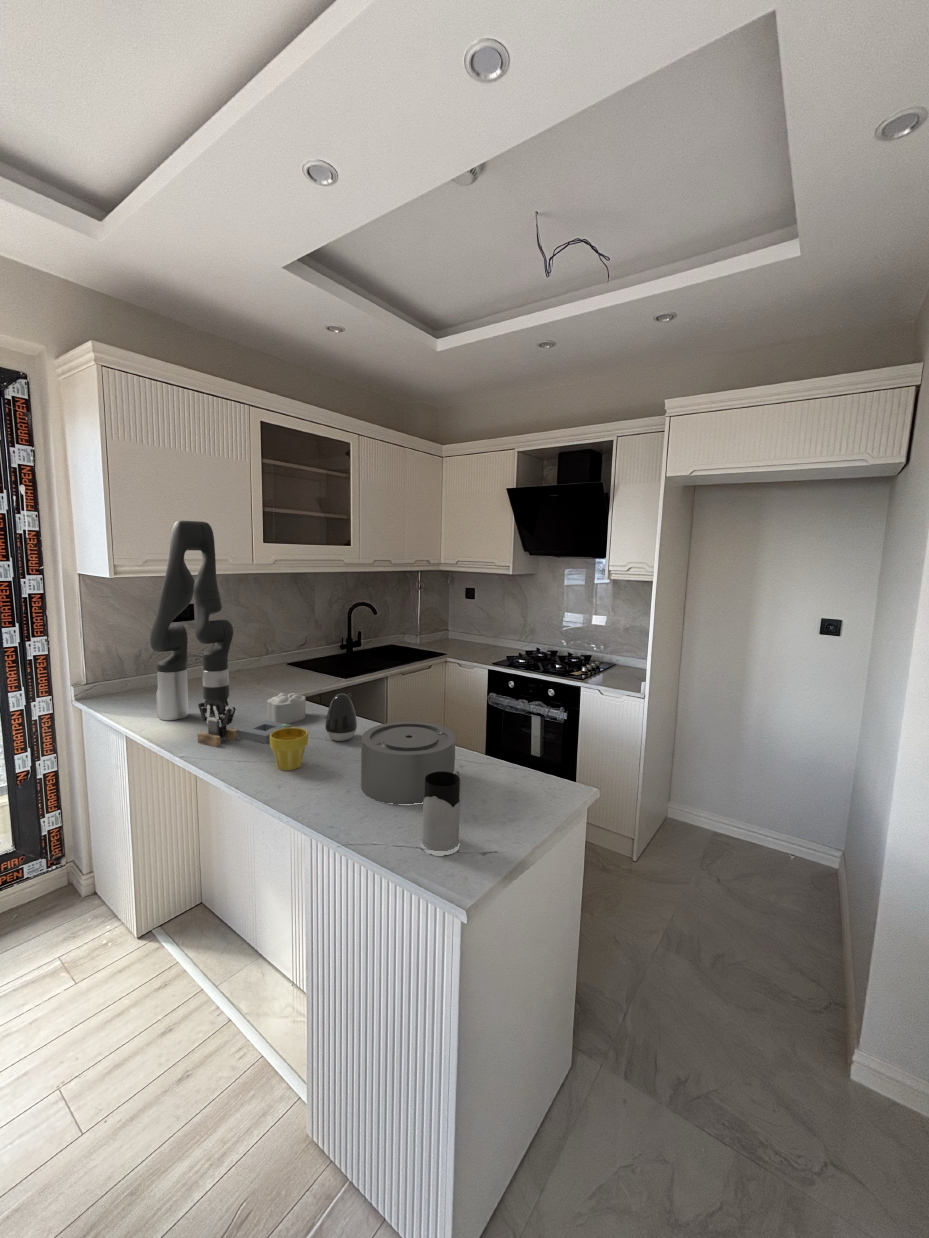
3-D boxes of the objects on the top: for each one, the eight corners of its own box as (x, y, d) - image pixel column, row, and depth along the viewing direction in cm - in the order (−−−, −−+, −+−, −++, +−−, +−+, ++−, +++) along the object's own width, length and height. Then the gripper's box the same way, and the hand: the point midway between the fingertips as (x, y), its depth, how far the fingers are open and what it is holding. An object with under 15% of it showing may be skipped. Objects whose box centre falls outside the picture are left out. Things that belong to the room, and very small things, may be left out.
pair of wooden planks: (197, 742, 165) (197, 733, 165) (218, 734, 172) (218, 725, 172) (216, 746, 162) (216, 737, 162) (237, 738, 169) (236, 729, 169)
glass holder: (413, 850, 110) (414, 783, 108) (439, 819, 124) (441, 758, 122) (451, 860, 107) (453, 791, 105) (474, 827, 121) (477, 765, 119)
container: (470, 793, 137) (472, 745, 136) (380, 814, 125) (381, 761, 123) (429, 759, 159) (430, 717, 157) (348, 774, 147) (349, 728, 145)
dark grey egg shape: (363, 736, 176) (364, 692, 174) (344, 746, 166) (344, 699, 164) (339, 730, 180) (339, 687, 178) (318, 740, 171) (318, 695, 169)
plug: (208, 741, 166) (208, 717, 165) (218, 738, 169) (217, 714, 168) (217, 743, 165) (216, 719, 164) (226, 739, 168) (225, 715, 167)
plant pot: (292, 776, 144) (292, 742, 142) (262, 769, 147) (261, 736, 146) (315, 762, 153) (315, 730, 152) (286, 756, 157) (286, 725, 155)
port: (237, 737, 171) (236, 729, 170) (264, 726, 182) (263, 718, 181) (265, 743, 166) (265, 735, 166) (291, 732, 177) (291, 724, 177)
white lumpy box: (264, 718, 190) (264, 695, 189) (297, 711, 200) (296, 689, 198) (278, 725, 183) (278, 701, 182) (311, 717, 193) (311, 695, 191)
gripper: (242, 683, 165) (243, 735, 168) (209, 677, 171) (210, 728, 173) (223, 689, 159) (224, 743, 161) (189, 682, 164) (191, 735, 166)
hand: (217, 735), depth 167 cm, fingers closed on plug, 3 cm apart
